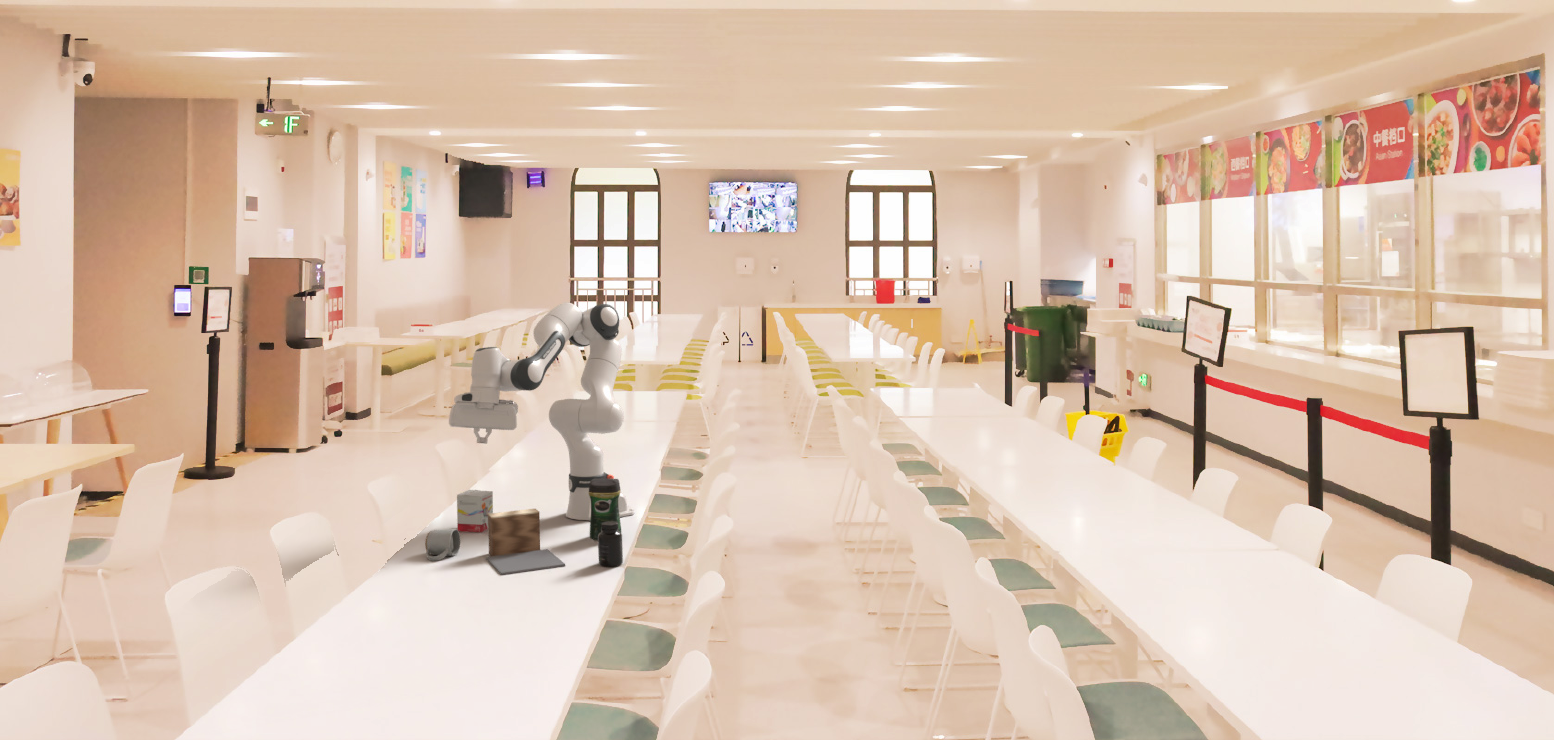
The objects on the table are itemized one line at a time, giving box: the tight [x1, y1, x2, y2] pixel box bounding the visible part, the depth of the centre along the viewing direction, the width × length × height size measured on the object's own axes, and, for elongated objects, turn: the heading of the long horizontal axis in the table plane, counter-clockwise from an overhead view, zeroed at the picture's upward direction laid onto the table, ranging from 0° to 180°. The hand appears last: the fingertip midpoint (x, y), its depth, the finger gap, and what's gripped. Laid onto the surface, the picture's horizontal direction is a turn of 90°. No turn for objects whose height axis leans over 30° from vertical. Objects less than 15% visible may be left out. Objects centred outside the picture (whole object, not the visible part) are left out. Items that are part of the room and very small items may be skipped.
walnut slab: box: [487, 508, 541, 556], centre depth 318 cm, size 14×4×12 cm, turn 118°
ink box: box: [456, 489, 494, 534], centre depth 344 cm, size 9×9×12 cm
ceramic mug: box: [424, 528, 461, 562], centre depth 314 cm, size 11×8×8 cm
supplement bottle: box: [597, 521, 624, 568], centre depth 307 cm, size 7×7×12 cm
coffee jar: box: [589, 478, 622, 541], centre depth 334 cm, size 10×8×19 cm
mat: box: [486, 548, 566, 576], centre depth 308 cm, size 18×17×1 cm
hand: (481, 443), depth 332 cm, fingers closed
